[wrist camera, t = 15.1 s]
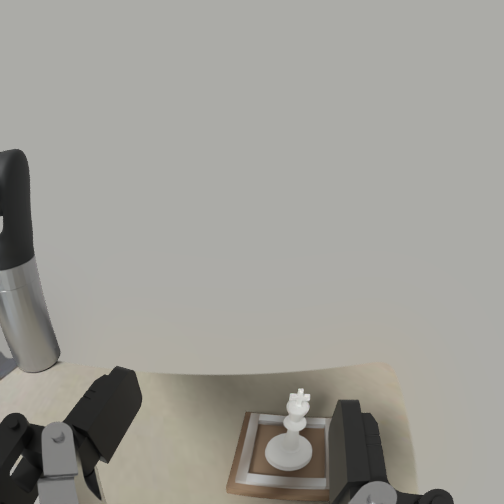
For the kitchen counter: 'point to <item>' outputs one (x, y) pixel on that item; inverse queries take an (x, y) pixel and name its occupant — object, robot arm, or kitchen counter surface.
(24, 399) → the kitchen counter surface
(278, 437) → the chess piece
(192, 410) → the kitchen counter surface
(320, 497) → the walnut board
